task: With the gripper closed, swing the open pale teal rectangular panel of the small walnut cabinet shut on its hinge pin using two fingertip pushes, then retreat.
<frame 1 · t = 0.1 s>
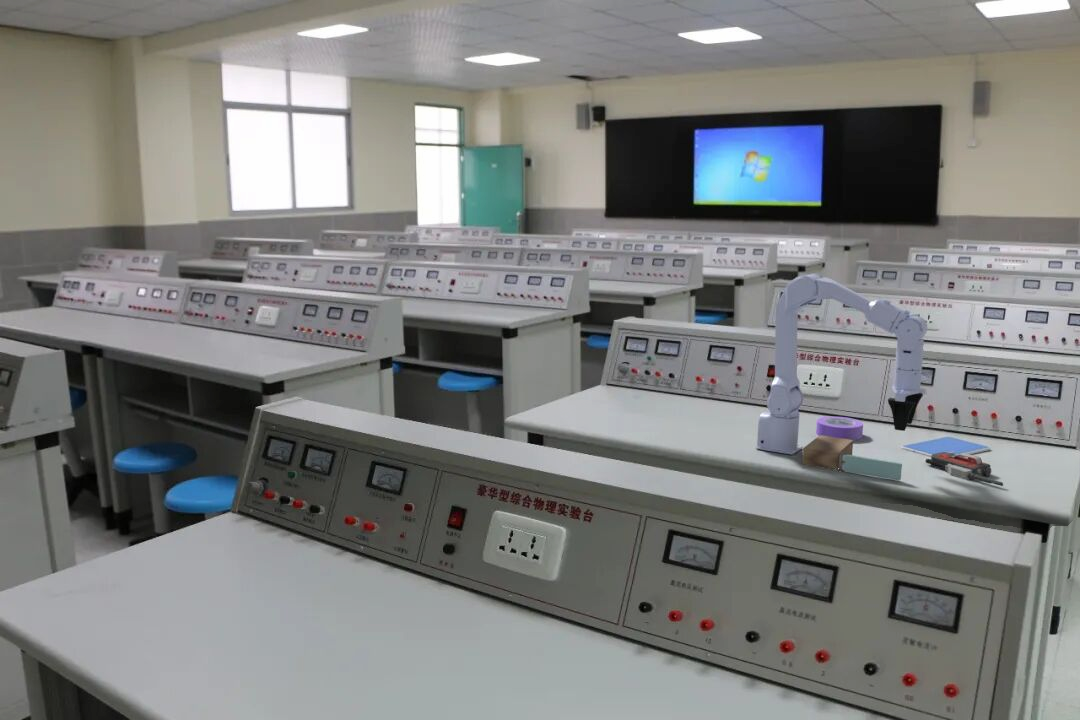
hand: (903, 426, 202), 10 cm above the table, tool pointing down, fingers open, 7 cm apart
pale teal rectangular panel: (871, 467, 198), point 2 cm above the table, hinge at 0.0°
masking tape: (838, 436, 234), on the table
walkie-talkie: (968, 477, 200), on the table
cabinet: (827, 460, 210), on the table
tablet computer: (945, 452, 221), on the table
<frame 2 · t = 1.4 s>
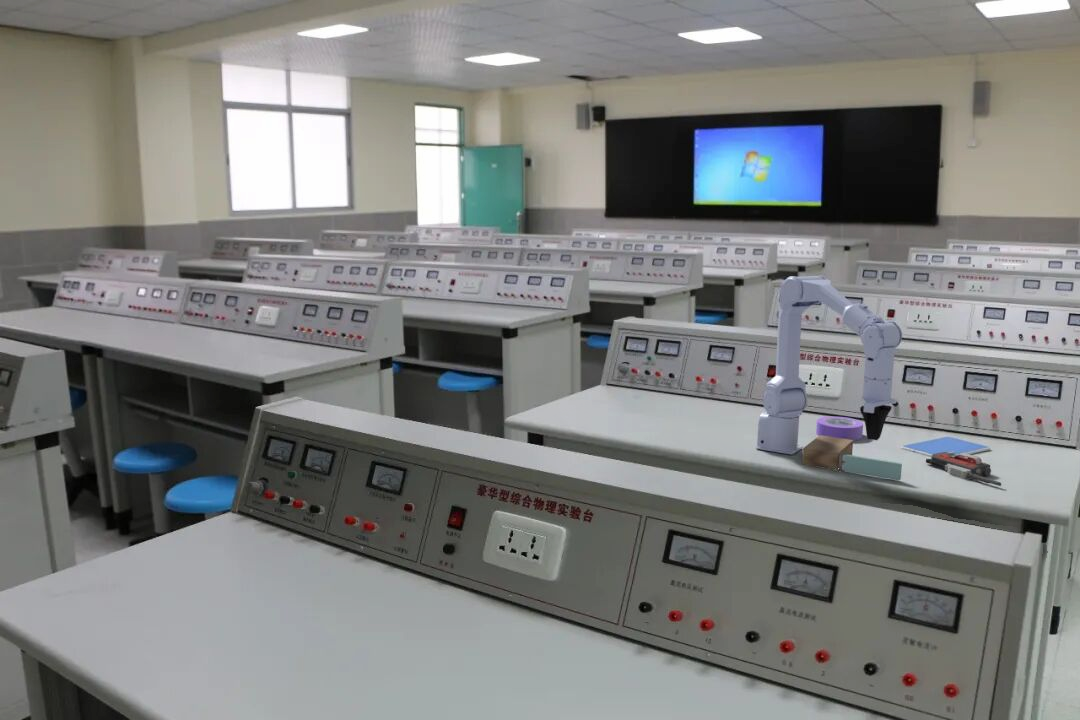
hand: (873, 438, 192), 10 cm above the table, tool pointing down, fingers closed
nothing on the table moved.
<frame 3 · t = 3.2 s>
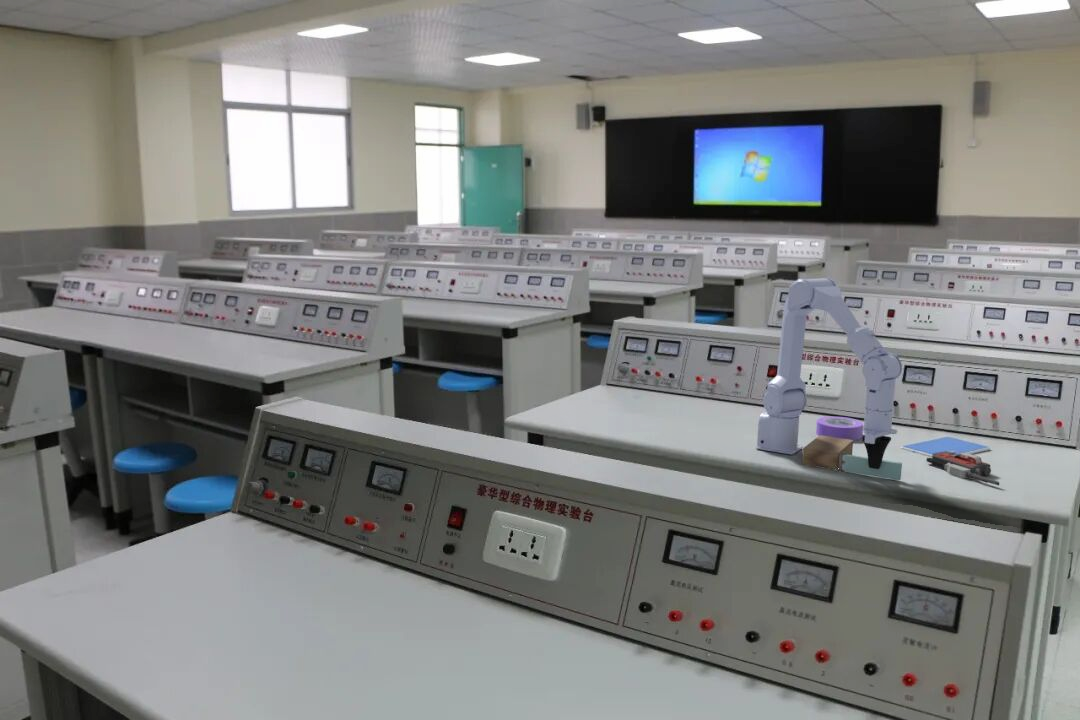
hand: (874, 467, 196), 2 cm above the table, tool pointing down, fingers closed, pressing on pale teal rectangular panel
pale teal rectangular panel: (871, 466, 198), point 2 cm above the table, hinge at 0.5°, touching gripper
everything else where it was.
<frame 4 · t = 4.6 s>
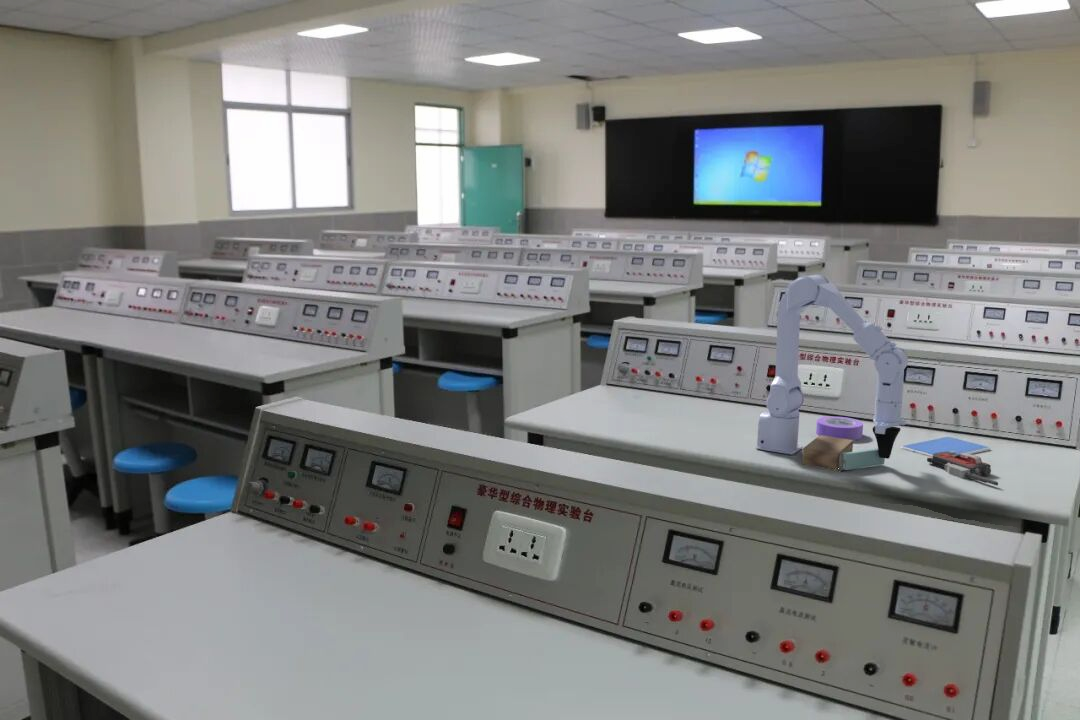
hand: (884, 457, 204), 2 cm above the table, tool pointing down, fingers closed, pressing on pale teal rectangular panel
pale teal rectangular panel: (862, 458, 204), point 2 cm above the table, hinge at 57.7°, touching gripper
everything else where it was.
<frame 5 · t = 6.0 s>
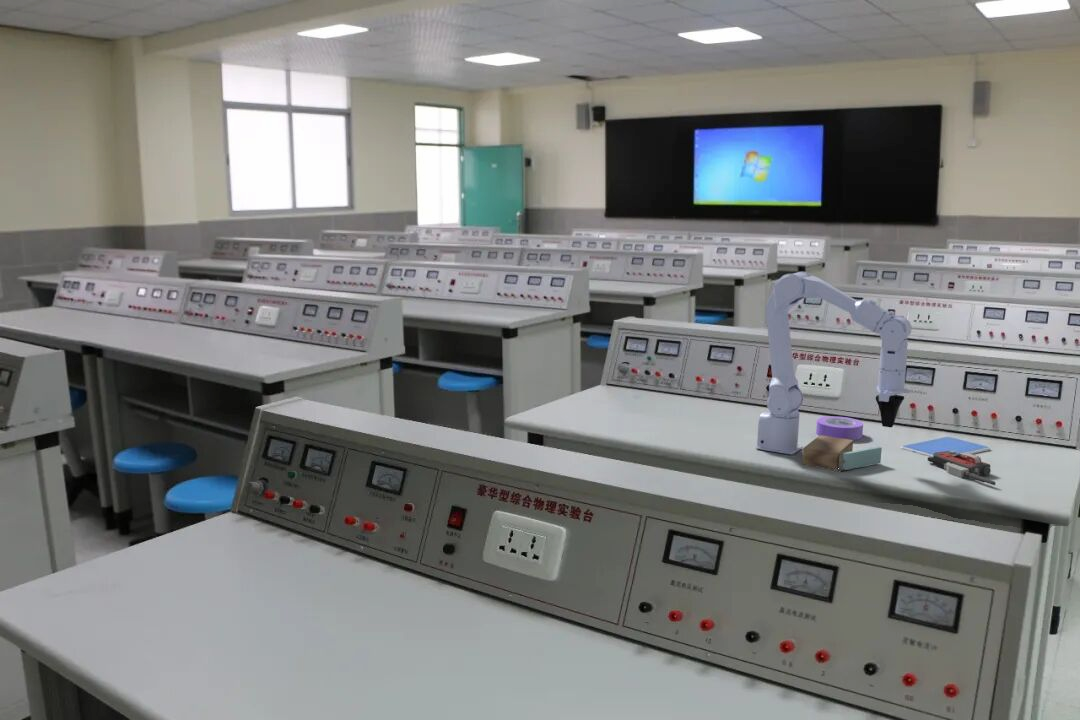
hand: (887, 426, 204), 10 cm above the table, tool pointing down, fingers closed
pale teal rectangular panel: (861, 458, 204), point 2 cm above the table, hinge at 62.7°
everything else where it was.
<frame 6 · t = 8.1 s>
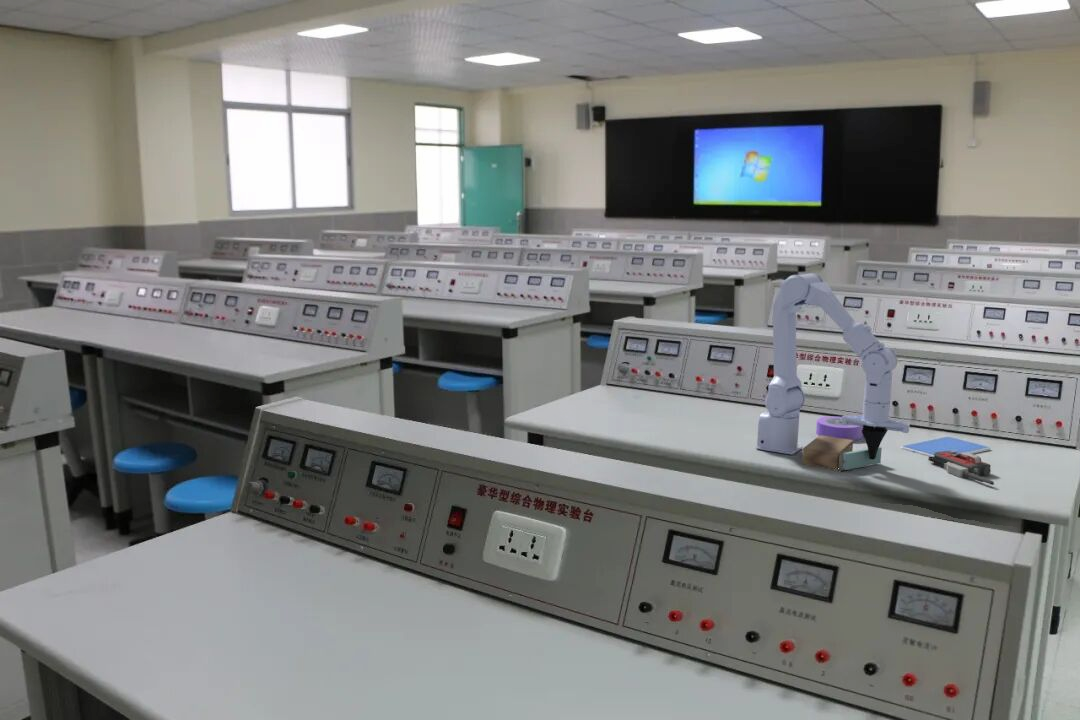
hand: (872, 458, 204), 2 cm above the table, tool pointing down, fingers closed, pressing on pale teal rectangular panel
pale teal rectangular panel: (861, 458, 204), point 2 cm above the table, hinge at 62.7°, touching gripper
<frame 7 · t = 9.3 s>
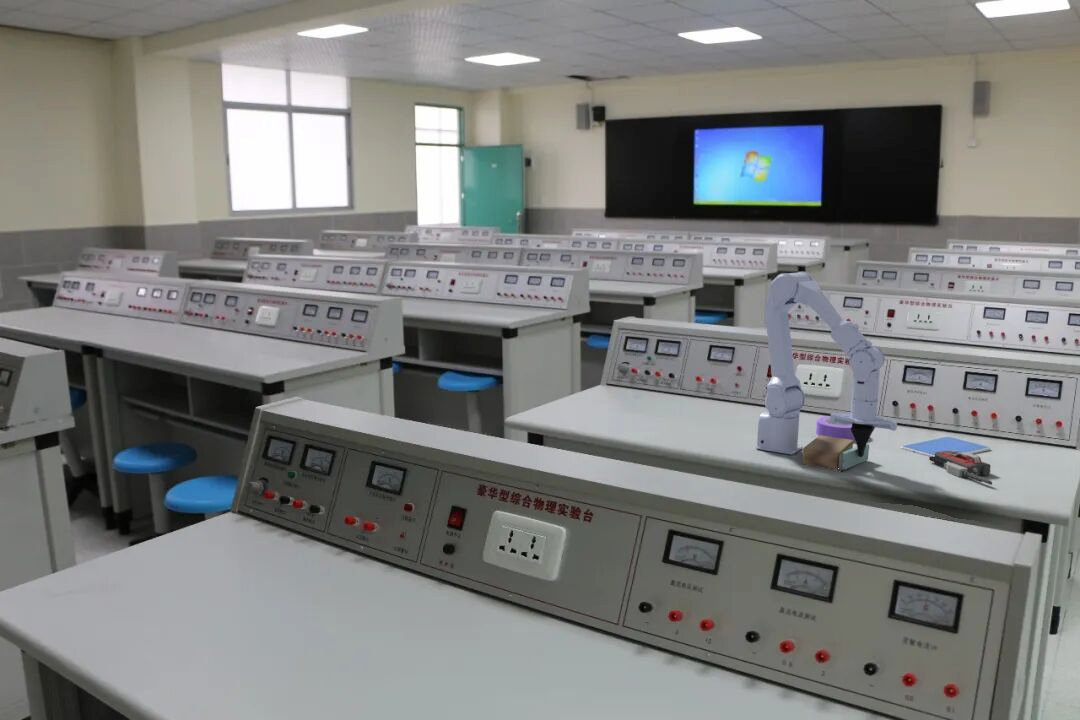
hand: (860, 455, 205), 3 cm above the table, tool pointing down, fingers closed
pale teal rectangular panel: (854, 456, 206), point 2 cm above the table, hinge at 77.5°, touching gripper
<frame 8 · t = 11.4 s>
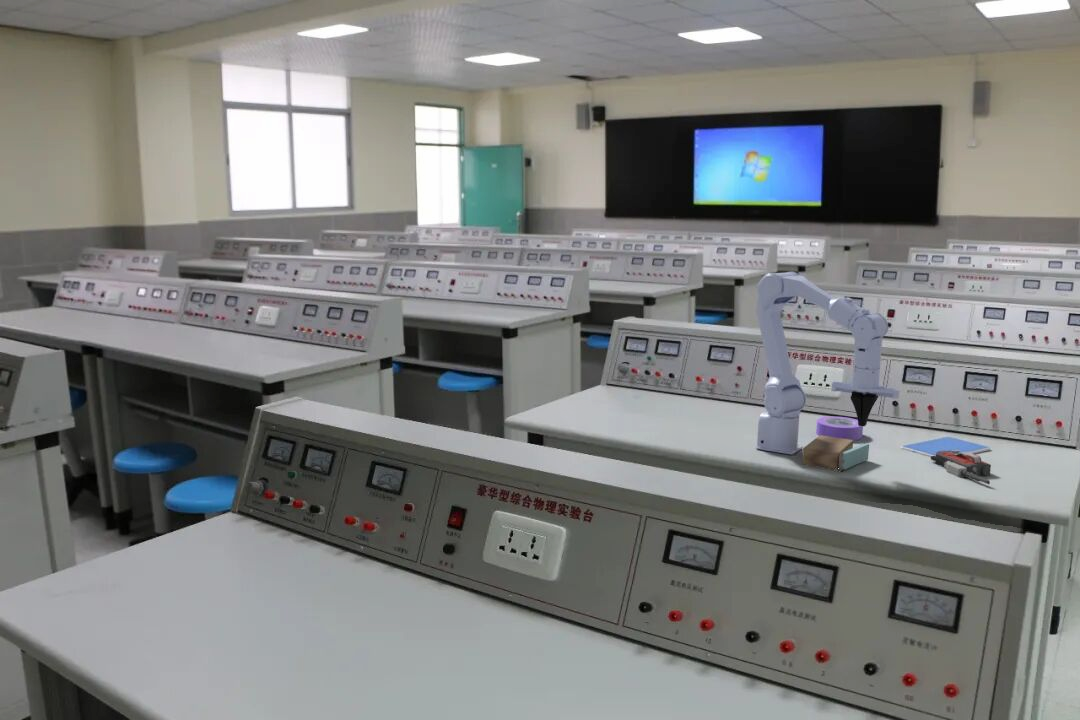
hand: (862, 425, 202), 10 cm above the table, tool pointing down, fingers closed
pale teal rectangular panel: (854, 456, 206), point 2 cm above the table, hinge at 77.6°
at the end: pale teal rectangular panel at +78° (first picture: +0°); pale teal rectangular panel touching nothing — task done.
